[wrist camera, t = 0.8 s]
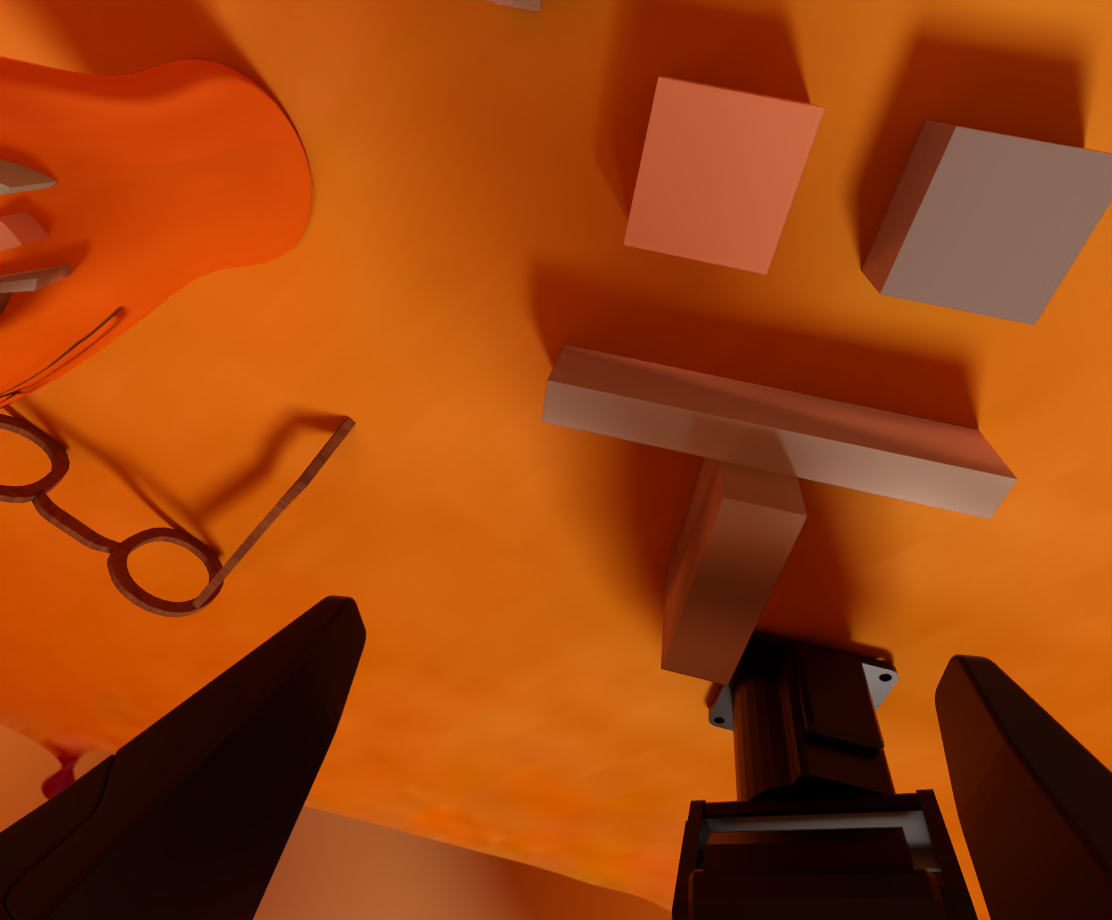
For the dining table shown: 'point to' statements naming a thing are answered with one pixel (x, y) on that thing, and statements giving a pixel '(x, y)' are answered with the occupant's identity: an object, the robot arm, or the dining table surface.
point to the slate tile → (988, 221)
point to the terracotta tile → (719, 173)
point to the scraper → (759, 480)
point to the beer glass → (130, 201)
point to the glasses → (123, 549)
